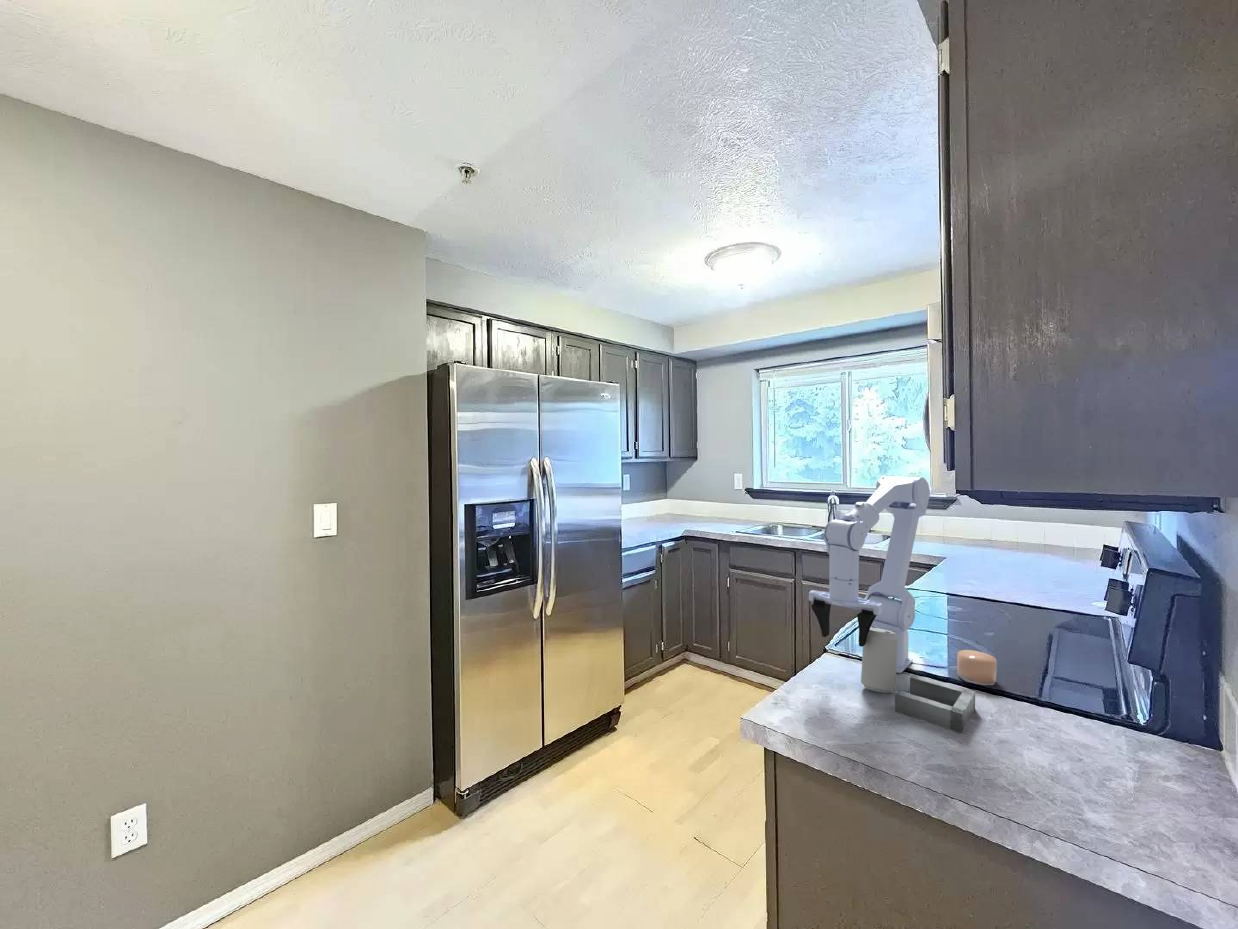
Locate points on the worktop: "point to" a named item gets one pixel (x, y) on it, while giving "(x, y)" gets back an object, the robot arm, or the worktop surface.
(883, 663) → the beverage can
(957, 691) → the grey piece
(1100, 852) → the worktop surface
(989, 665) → the peach cylinder plug
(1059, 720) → the worktop surface
